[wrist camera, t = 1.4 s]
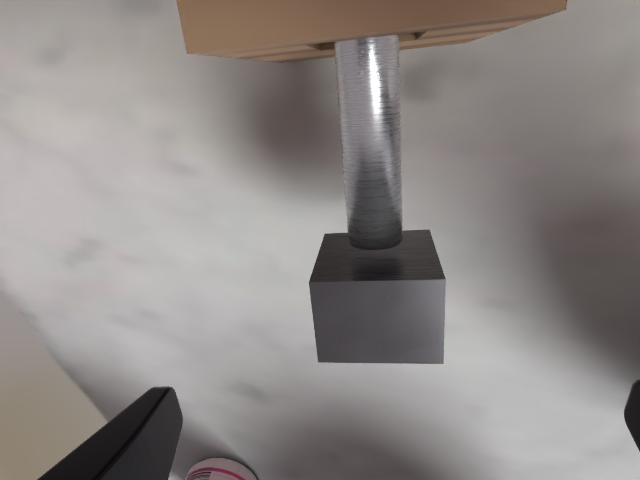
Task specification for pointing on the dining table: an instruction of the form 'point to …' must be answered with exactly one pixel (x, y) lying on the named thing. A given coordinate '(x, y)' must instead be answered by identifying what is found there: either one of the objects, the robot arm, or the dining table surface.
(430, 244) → the shaft
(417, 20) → the block
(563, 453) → the dining table surface
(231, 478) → the beverage can
